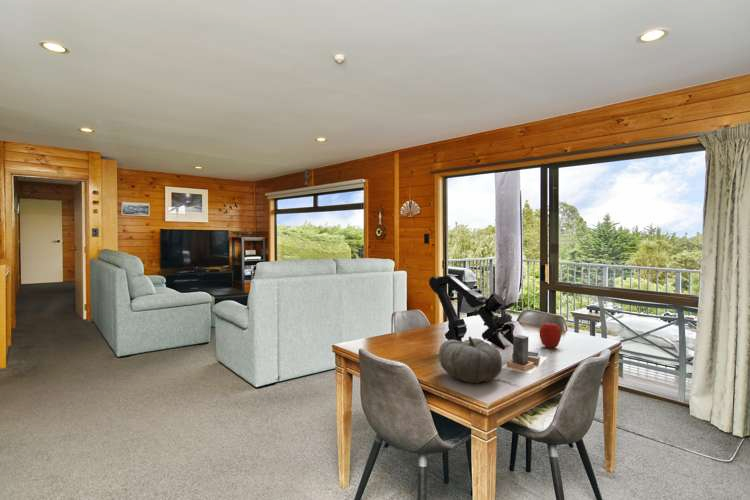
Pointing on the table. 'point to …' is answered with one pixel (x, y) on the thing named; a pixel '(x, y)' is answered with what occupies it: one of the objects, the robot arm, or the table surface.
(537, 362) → the plate
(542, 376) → the table surface
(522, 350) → the peg
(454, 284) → the robot arm
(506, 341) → the mug
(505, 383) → the table surface
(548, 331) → the apple
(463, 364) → the gourd
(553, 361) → the table surface
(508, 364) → the collar
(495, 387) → the table surface
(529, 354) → the collar
